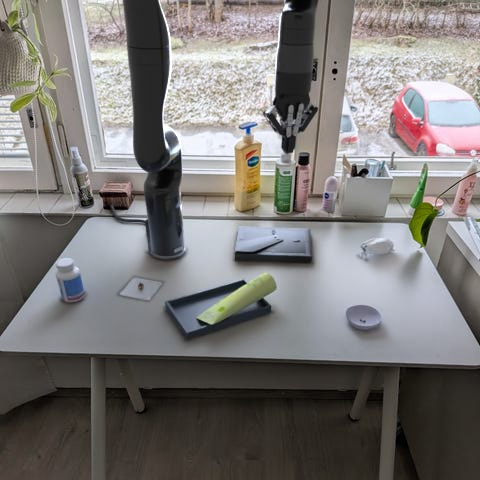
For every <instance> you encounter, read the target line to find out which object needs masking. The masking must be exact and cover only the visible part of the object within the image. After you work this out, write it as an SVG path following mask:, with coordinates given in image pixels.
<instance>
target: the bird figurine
mask: <svg viewBox="0 0 480 480" xmlns="http://www.w3.org/2000/svg"><path fill="white" fill-rule="evenodd" d="M394 246H395V243H394V242H393V241H392V240H391V239H389V238H385V237H374V238H370V239H368V240H366V241H364V242H362V243H361V244H360V248H361V250H362V251H361V252H359V253H358V254H359V255H358V257H360V258H361V259H362V257H363V259H365V260H366V261H367V259H368V256H369V255H386V254H387V253H389V252H395V251H396V249H394Z"/></svg>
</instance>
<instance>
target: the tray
mask: <svg viewBox="0 0 480 480" xmlns="http://www.w3.org/2000/svg"><path fill="white" fill-rule="evenodd" d="M249 282H250V281H248V280H247V279H246V278H245V277H244V278H241V279H237V280H233V281H230V282H227V283H223V284H219V285H216V286H212V287H210V288H206V289H203V290H199V291H195V292H192V293H188V294H186V295H182V296H179V297H178V296H177V297H175V298H171V299H168V300H165V301H164V307H165V309H166V312H167V313H168V314H169V315H170V316H171V318H172V320H173V321H174V322H175V324H176V326H177V327H178V328H179V330H180V331H181V333H182V334H183V336H184V337H185V339H186V340H190V339H194V338H197V337H201V336H204V335H206V334H210V333H213V332H216V331H218V330H221V329H224V328H227V327H231V326H234V325H237V324H240V323H243V322H247V321H249V320H253V319H255V318H258V317H262V316H265V315H267V314H271V313H272V305H271V304H270V303H269V302H268V300H267V299H265V297H264V298H262V299H260V300H258V301H257V302H255V303H253V304H251V305H250V306H248V307H246V308H244V309H242V310H241V311H239V312H237V313H235V314H233V315H231V316H229V317H227V318H225V319H224V320H222V321H220V322H217V323H215V324H212V325H211V324H209V323H207V322H204V321H202V320H199V319H197V317H198V316H199V315H201V314H202V313H203V312H205V311H206V310H207V309H209V308H210V307H212V306H213V305H215V304H216V303H218V302H219V301H221V300H222V299H224V298H225V297H227V296H228V295H230V294H231V293H233V292H234V291H236V290H238V289H239V288H241V287H242V286H244V285H246V284H247V283H249Z"/></svg>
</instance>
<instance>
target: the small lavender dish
mask: <svg viewBox="0 0 480 480" xmlns="http://www.w3.org/2000/svg"><path fill="white" fill-rule="evenodd" d="M345 319H346V321H347V322H348V324H349V325H350V326H352V327H353V328H356V329H359V330H363V331H364V330H371V329H372V330H373V329H375V328H377V327H379V326H380V324H381V323H382V319H383V318H382V314H381V313H380V312H379V310H377V308H374V307H373V306H370V305H367V304H357V305H353V306H350V307H348V308H347V309H346V311H345Z"/></svg>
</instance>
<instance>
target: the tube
mask: <svg viewBox="0 0 480 480" xmlns="http://www.w3.org/2000/svg"><path fill="white" fill-rule="evenodd" d="M248 282H249V283H247V284H246V285H244V286H242V287H241V288H239V289H238V290H236V291H234V292H233V293H231V294H230V295H228V296H227V297H225V298H224V299H222V300H221V301H219V302H218V303H216V304H215V305H213V306H212V307H210V308H209V309H207V310H206V311H205V312H203V313H202V314H201V315H199V316H198V317H197V319H199V320H202V321H204V322H207V323H209V324H211V325H212V324H215V323H217V322H220V321H222V320H224V319H225V318H227V317H229V316H231V315H233V314H235V313H237V312H239V311H241V310H242V309H244V308H246V307H248V306H250V305H251V304H253V303H255V302H257V301H258V300H260V299H262V298H264V299H265V297H267V296H269V295H271V294H273V293H275V291H276V290H277V286H278V285H277V282H276V280H275V278H274V277H273V275H271V274H270V273H269V272H263V273H262V274H260V275H258V276H257V277H255V278H254V279H252V280H250V281H248Z"/></svg>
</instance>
